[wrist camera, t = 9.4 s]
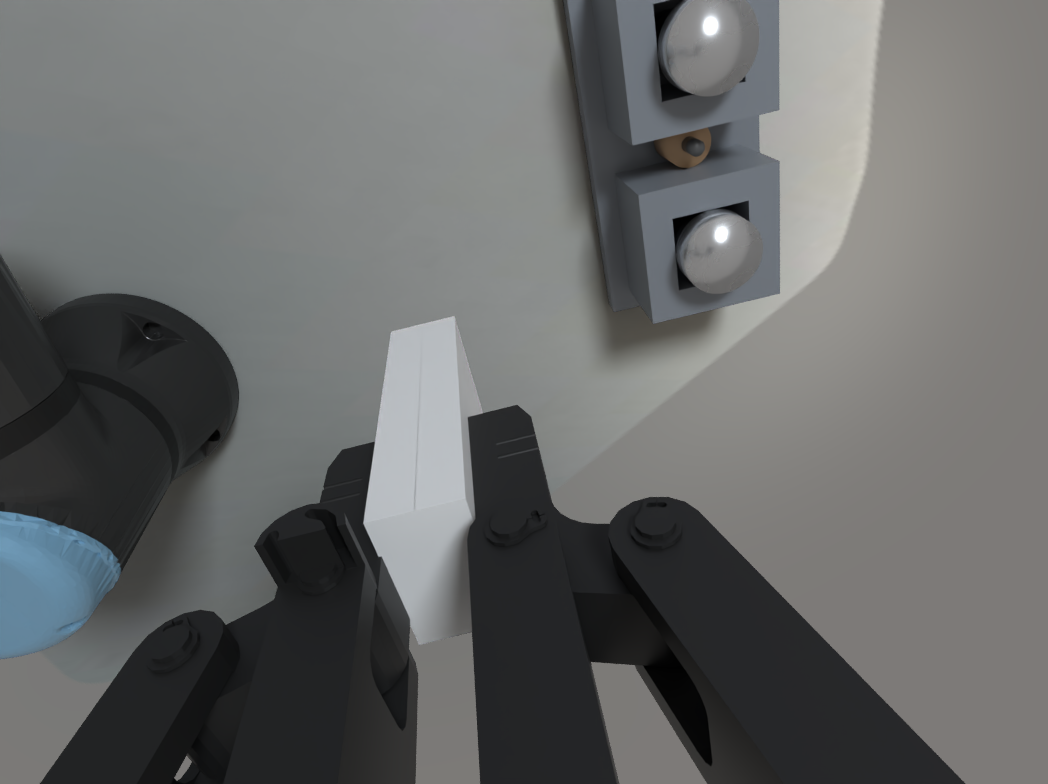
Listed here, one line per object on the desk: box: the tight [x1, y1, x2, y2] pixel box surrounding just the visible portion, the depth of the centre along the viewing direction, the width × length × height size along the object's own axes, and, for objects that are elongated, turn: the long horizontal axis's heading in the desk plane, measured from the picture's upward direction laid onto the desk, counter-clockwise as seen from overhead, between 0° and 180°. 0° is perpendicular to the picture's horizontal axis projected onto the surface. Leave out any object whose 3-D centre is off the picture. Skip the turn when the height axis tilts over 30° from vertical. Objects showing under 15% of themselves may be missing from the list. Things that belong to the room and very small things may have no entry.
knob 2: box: [672, 209, 763, 294], centre depth 44 cm, size 5×5×8 cm
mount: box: [563, 0, 780, 324], centre depth 43 cm, size 12×24×8 cm, turn 12°
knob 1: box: [654, 0, 759, 97], centre depth 38 cm, size 5×5×8 cm
